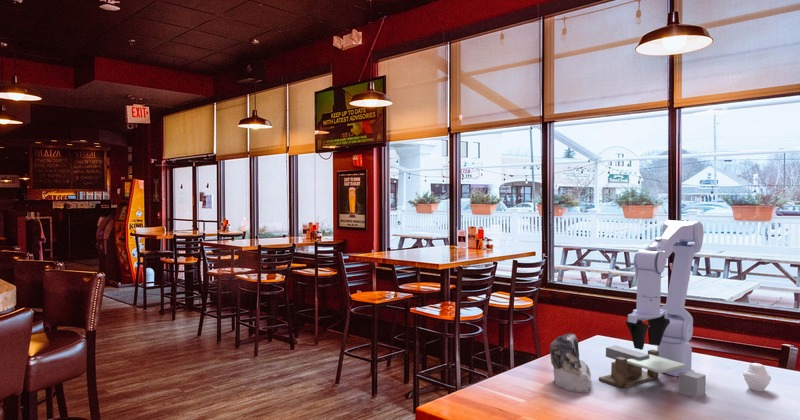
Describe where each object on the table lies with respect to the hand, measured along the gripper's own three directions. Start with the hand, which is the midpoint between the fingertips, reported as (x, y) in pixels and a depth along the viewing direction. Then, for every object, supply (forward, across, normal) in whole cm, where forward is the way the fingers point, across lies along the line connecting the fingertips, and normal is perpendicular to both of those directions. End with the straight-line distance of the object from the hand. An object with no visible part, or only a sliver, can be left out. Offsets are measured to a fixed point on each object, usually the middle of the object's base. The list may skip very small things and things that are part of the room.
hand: (647, 346), depth 142 cm
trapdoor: (+5, 0, -2) cm, 6 cm away
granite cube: (+10, -5, +10) cm, 15 cm away
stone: (+11, +17, -11) cm, 23 cm away
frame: (+10, 0, -5) cm, 12 cm away
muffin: (+11, -23, +17) cm, 30 cm away
